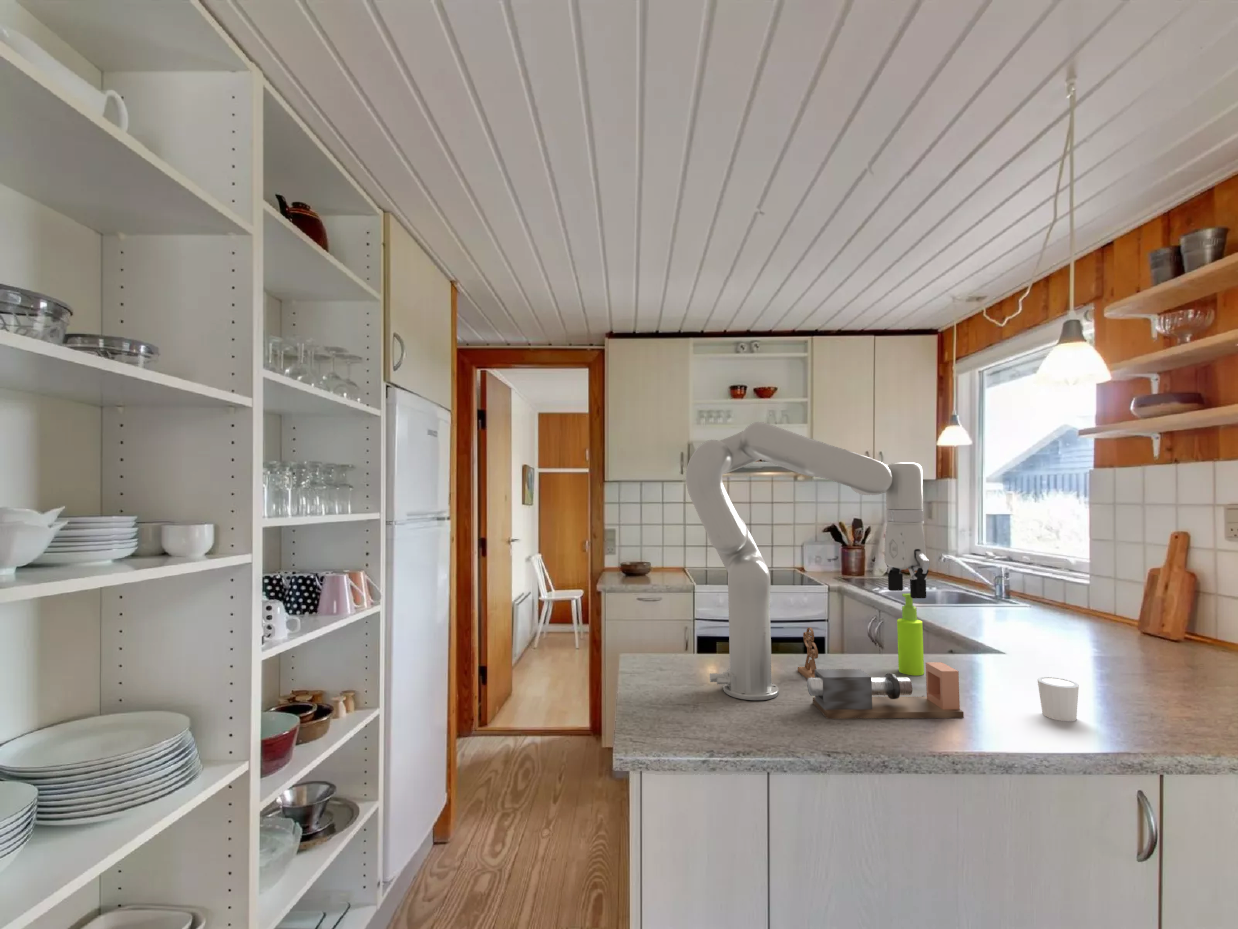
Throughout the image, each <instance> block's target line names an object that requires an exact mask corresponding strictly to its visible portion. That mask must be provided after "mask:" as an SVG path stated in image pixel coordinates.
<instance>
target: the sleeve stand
mask: <svg viewBox="0 0 1238 929" xmlns="http://www.w3.org/2000/svg"><path fill="white" fill-rule="evenodd" d="M871 677H872V676H870V675H869V674H868V673H867V672H865V671H864V670H862V669H861V668H837V669H835V668H832V669H831V668H830V669H829V668H822V669H817V668H816V669H815V678H822V679H823V696H812V703H813V705H814V706H815V707H816V708H817V709H818V710H819V712H820V713H822V715H823V716H824V717H825V718H826V719H827V720H829V719H831V720H832V719H834V720H835V719H839V720H840V719H948V718H949V719H955V718H957V719H959V718H964V717H965V715H964V711H963V710H962V709H961V708H960V709H942V708H940V707H939V706H937V705H935V704H934V703H932V702H931V701H929V700H928V699H927V696H899V698H898V699H890V698H889V697H888V696H873V695H872V679H871Z"/></svg>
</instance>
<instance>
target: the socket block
mask: <svg viewBox="0 0 1238 929" xmlns="http://www.w3.org/2000/svg"><path fill="white" fill-rule="evenodd" d="M959 678H960V677H959V670H957V669H955V668H953V667H952V666H950V665H948V664H946V663H944V662H940V661H939V662H938V661H937V662H936V661H935V662H933V661H932V662H931V661H930V662H929V661H927V662H925V680H926V681H925V682H926V686H925V687H926V697H927V699H928V700H929V701H931V702H932V703H934V704H935V705H937V706H939V707H940V708H942V709H960V710H961V707H960V704H961V701H960V680H959Z"/></svg>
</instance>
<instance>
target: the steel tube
mask: <svg viewBox="0 0 1238 929" xmlns="http://www.w3.org/2000/svg"><path fill="white" fill-rule="evenodd" d="M871 679H872V696H887V697H889V698H890V699H898V698H899V697H901V696H911V695H912V694H913V684H912V681H911V679H910V678H909V677H908V676H897V675H896V674H895V673H893V672H890V673H889V672H887V673H885V675H884V676H883V677H882V676H878V677H877V676H876V677H875V676H874V677H872V676H871ZM806 685H807V691H808V695H809V697H810V696H812V697H815V696H823V679H822V678H808V679H807V682H806Z"/></svg>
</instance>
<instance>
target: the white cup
mask: <svg viewBox="0 0 1238 929" xmlns="http://www.w3.org/2000/svg"><path fill="white" fill-rule="evenodd" d="M1037 685H1038V692H1039V700H1040V706H1041V712H1042V715H1043V716H1045V717H1046V718H1049V719H1052V720H1055V721H1060V722H1061V721H1062V722H1075V721H1077V716H1078V702H1079V701H1078V700H1079V688H1080V686H1079V684H1078V683H1077V682H1074V681H1072V680H1068V679H1065V678H1059V677H1052V676H1051V677H1049V676H1048V677H1047V676H1044V677H1038V678H1037Z"/></svg>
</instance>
